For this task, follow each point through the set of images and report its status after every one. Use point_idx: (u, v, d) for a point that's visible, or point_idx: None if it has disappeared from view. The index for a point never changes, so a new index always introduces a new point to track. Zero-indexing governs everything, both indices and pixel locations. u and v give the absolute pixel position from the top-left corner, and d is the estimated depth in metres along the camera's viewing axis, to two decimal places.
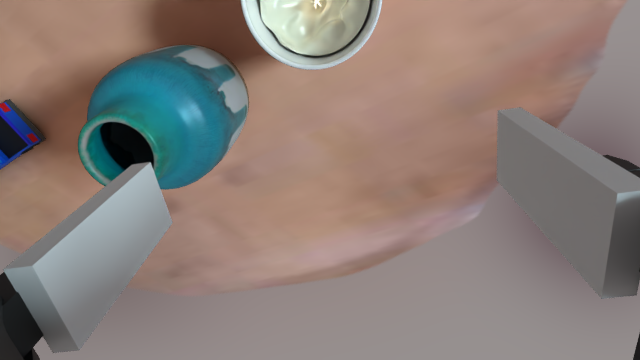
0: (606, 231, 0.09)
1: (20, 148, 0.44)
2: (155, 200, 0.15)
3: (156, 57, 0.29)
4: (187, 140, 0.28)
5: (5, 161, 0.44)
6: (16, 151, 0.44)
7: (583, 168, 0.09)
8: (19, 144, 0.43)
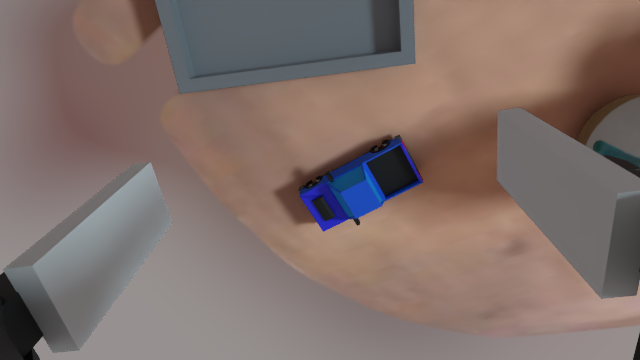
0: (606, 231, 0.09)
1: (402, 185, 0.41)
2: (155, 200, 0.15)
3: None
4: None
5: (385, 199, 0.41)
6: (396, 188, 0.42)
7: (583, 168, 0.09)
8: (403, 181, 0.41)
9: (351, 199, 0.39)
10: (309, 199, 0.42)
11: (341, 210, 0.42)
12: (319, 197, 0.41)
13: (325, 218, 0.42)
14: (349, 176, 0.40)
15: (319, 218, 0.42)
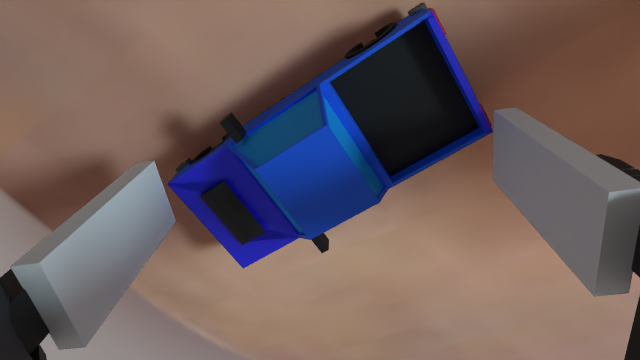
0: (598, 229, 0.09)
1: (433, 145, 0.16)
2: (159, 199, 0.15)
3: None
4: None
5: (390, 183, 0.16)
6: (418, 154, 0.16)
7: (576, 167, 0.09)
8: (436, 134, 0.15)
9: (291, 187, 0.14)
10: (193, 191, 0.16)
11: (279, 216, 0.16)
12: (216, 185, 0.16)
13: (240, 238, 0.17)
14: (285, 123, 0.14)
15: (228, 238, 0.17)
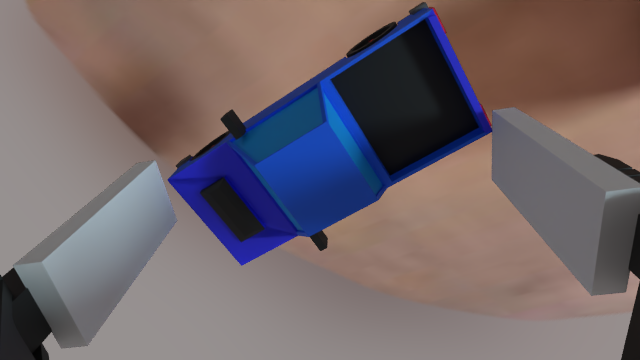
0: (595, 229, 0.09)
1: (433, 145, 0.16)
2: (160, 198, 0.15)
3: None
4: None
5: (390, 182, 0.16)
6: (418, 153, 0.16)
7: (573, 167, 0.09)
8: (436, 133, 0.15)
9: (290, 183, 0.14)
10: (193, 187, 0.16)
11: (278, 214, 0.16)
12: (216, 182, 0.16)
13: (239, 235, 0.17)
14: (285, 119, 0.14)
15: (227, 235, 0.17)
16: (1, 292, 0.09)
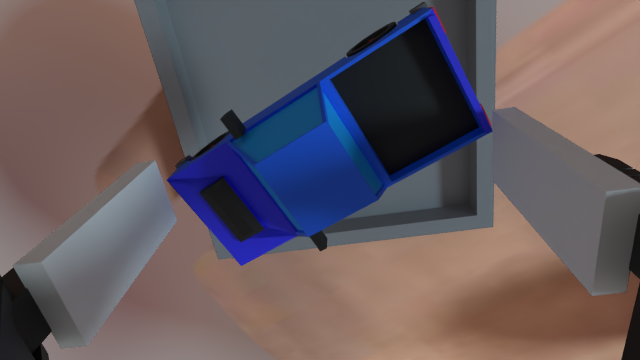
0: (596, 229, 0.09)
1: (433, 144, 0.16)
2: (160, 198, 0.15)
3: None
4: None
5: (389, 182, 0.16)
6: (418, 153, 0.16)
7: (574, 167, 0.09)
8: (436, 133, 0.15)
9: (289, 183, 0.14)
10: (192, 187, 0.16)
11: (278, 214, 0.16)
12: (216, 182, 0.16)
13: (239, 235, 0.17)
14: (285, 119, 0.14)
15: (226, 235, 0.17)
16: (1, 292, 0.09)
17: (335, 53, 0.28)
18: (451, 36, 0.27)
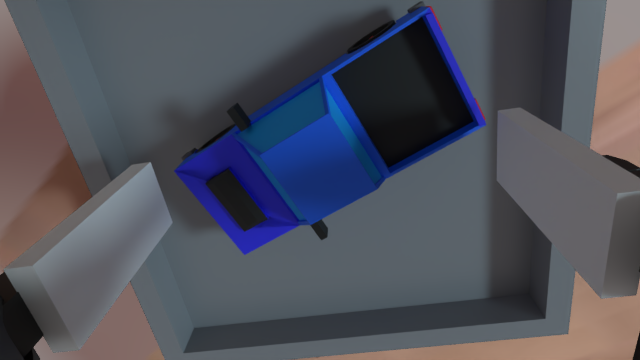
0: (606, 231, 0.09)
1: (430, 138, 0.16)
2: (155, 200, 0.15)
3: None
4: None
5: (388, 173, 0.16)
6: (415, 146, 0.16)
7: (583, 168, 0.09)
8: (432, 127, 0.16)
9: (293, 173, 0.14)
10: (198, 178, 0.17)
11: (280, 204, 0.17)
12: (221, 173, 0.16)
13: (243, 224, 0.17)
14: (289, 112, 0.15)
15: (230, 225, 0.18)
16: None
17: None
18: (519, 58, 0.17)
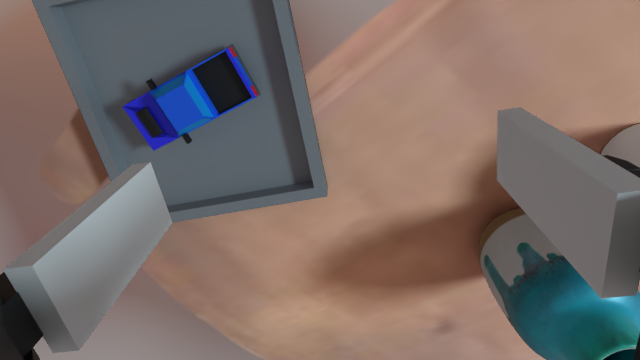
0: (606, 231, 0.09)
1: (236, 102, 0.38)
2: (155, 200, 0.15)
3: None
4: None
5: (217, 115, 0.38)
6: (230, 105, 0.38)
7: (583, 168, 0.09)
8: (236, 97, 0.38)
9: (169, 108, 0.36)
10: (133, 111, 0.38)
11: (170, 126, 0.38)
12: (143, 109, 0.37)
13: (152, 134, 0.38)
14: (171, 84, 0.36)
15: (147, 134, 0.39)
16: None
17: None
18: (277, 61, 0.39)
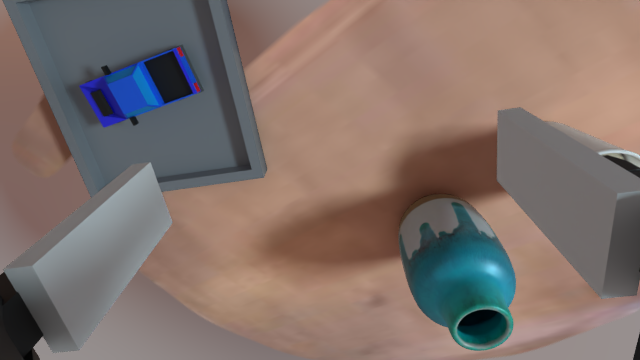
0: (606, 231, 0.09)
1: (180, 95, 0.43)
2: (155, 200, 0.15)
3: (474, 238, 0.38)
4: None
5: (162, 104, 0.43)
6: (175, 97, 0.43)
7: (583, 168, 0.09)
8: (181, 91, 0.43)
9: (118, 93, 0.41)
10: (88, 90, 0.43)
11: (120, 108, 0.44)
12: (97, 90, 0.43)
13: (103, 113, 0.44)
14: (123, 72, 0.41)
15: (99, 113, 0.44)
16: None
17: None
18: (218, 56, 0.44)
